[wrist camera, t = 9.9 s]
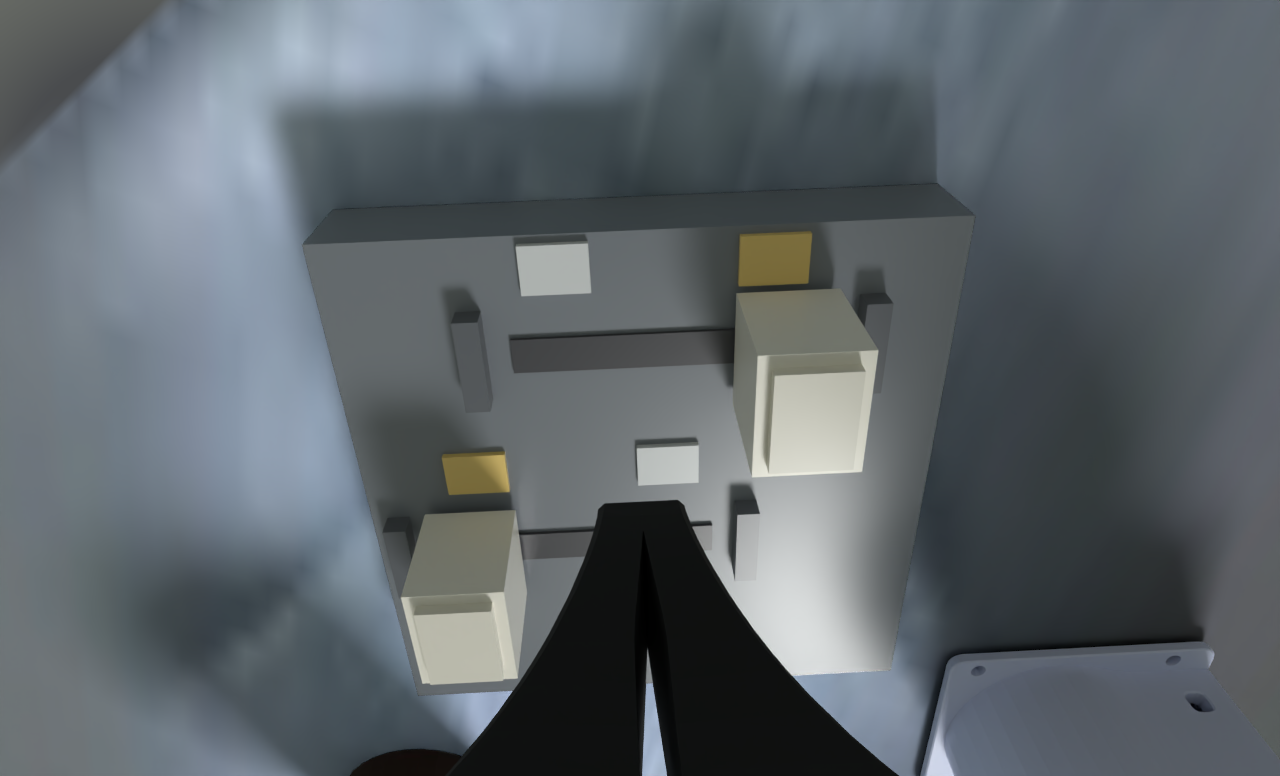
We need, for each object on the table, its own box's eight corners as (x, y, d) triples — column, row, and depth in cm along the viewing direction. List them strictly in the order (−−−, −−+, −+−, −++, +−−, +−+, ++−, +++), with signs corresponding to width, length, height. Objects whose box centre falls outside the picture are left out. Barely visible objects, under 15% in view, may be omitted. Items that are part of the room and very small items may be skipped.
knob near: (840, 288, 19) (882, 357, 16) (829, 399, 20) (865, 480, 17) (736, 293, 19) (760, 363, 16) (732, 403, 20) (753, 485, 17)
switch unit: (937, 183, 20) (986, 224, 18) (869, 613, 28) (896, 685, 25) (333, 209, 20) (292, 255, 17) (431, 636, 28) (414, 711, 25)
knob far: (515, 510, 22) (502, 601, 19) (527, 592, 23) (516, 688, 20) (424, 514, 22) (398, 606, 19) (442, 596, 23) (420, 693, 20)
